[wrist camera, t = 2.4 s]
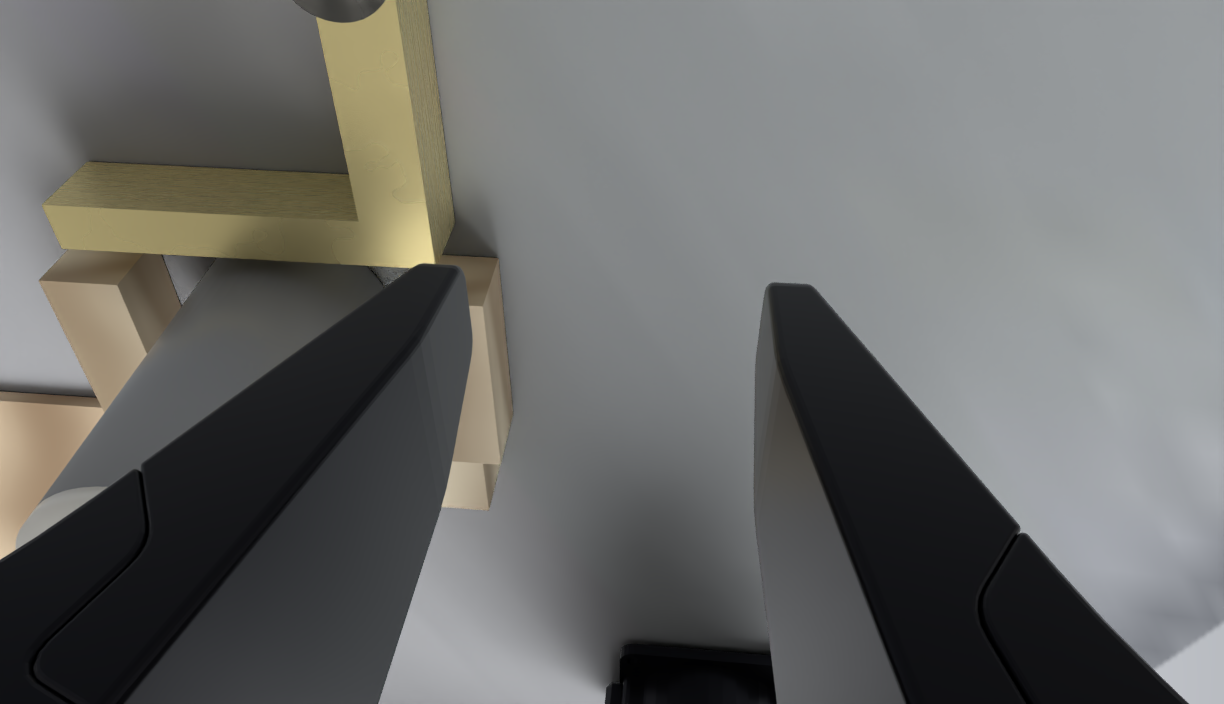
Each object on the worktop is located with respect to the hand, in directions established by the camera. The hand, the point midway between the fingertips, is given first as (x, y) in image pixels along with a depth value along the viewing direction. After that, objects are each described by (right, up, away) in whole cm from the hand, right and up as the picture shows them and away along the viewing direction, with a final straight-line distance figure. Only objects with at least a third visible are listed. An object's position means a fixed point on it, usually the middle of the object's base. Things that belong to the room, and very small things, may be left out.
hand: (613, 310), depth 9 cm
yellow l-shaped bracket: (-8, +6, +11) cm, 15 cm away
